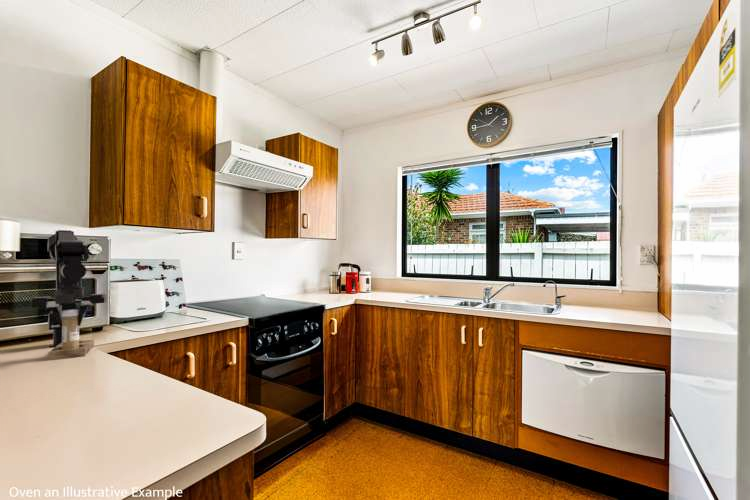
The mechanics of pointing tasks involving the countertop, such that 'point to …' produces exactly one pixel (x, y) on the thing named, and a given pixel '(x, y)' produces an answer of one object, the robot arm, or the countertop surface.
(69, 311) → the sprinkles bottle
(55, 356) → the socket board
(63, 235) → the robot arm
